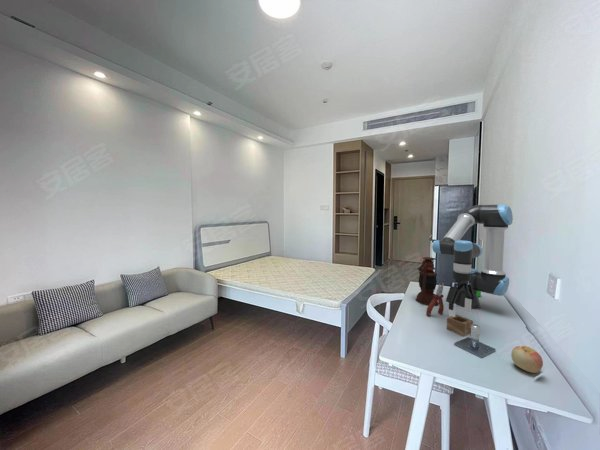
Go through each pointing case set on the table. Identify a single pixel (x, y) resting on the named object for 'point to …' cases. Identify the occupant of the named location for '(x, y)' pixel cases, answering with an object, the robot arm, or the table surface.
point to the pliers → (436, 298)
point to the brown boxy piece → (459, 325)
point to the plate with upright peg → (475, 344)
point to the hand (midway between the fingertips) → (459, 313)
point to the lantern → (427, 282)
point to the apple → (527, 359)
